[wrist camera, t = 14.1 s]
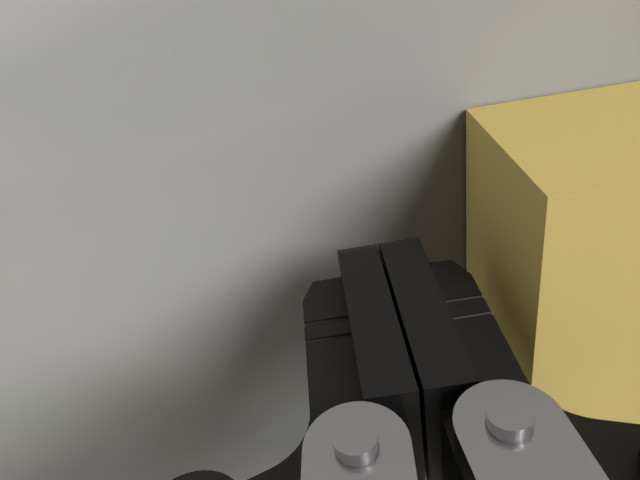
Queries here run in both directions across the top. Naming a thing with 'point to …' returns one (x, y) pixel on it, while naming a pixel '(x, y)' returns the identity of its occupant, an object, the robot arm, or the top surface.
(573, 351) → the block
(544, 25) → the top surface
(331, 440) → the robot arm
